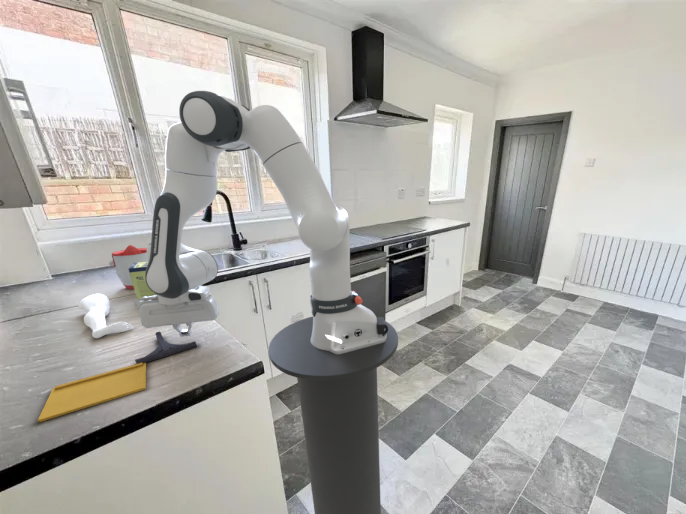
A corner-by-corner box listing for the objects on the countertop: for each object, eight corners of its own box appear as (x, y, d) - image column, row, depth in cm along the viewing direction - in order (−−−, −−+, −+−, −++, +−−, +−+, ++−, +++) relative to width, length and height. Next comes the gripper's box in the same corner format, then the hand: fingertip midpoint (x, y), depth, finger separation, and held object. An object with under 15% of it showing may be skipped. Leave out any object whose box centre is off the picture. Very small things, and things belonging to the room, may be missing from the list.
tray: (146, 364, 83) (145, 361, 83) (145, 389, 73) (144, 385, 73) (53, 390, 74) (52, 386, 73) (38, 422, 64) (36, 418, 63)
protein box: (183, 298, 131) (174, 263, 126) (138, 305, 124) (127, 268, 119) (184, 291, 140) (176, 257, 134) (142, 297, 133) (132, 262, 127)
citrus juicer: (116, 286, 148) (102, 245, 141) (159, 279, 158) (149, 240, 151) (116, 295, 136) (102, 250, 130) (163, 286, 147) (152, 244, 140)
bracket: (185, 331, 102) (183, 323, 101) (197, 347, 92) (195, 339, 91) (131, 347, 93) (128, 338, 92) (137, 367, 83) (134, 358, 82)
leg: (108, 288, 123) (72, 295, 116) (129, 316, 102) (87, 327, 95) (113, 303, 126) (78, 311, 118) (135, 334, 105) (94, 346, 97)
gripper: (129, 301, 85) (143, 345, 90) (210, 293, 91) (219, 335, 95) (139, 294, 91) (152, 335, 96) (215, 287, 96) (223, 326, 101)
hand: (186, 335), depth 95 cm, fingers closed
